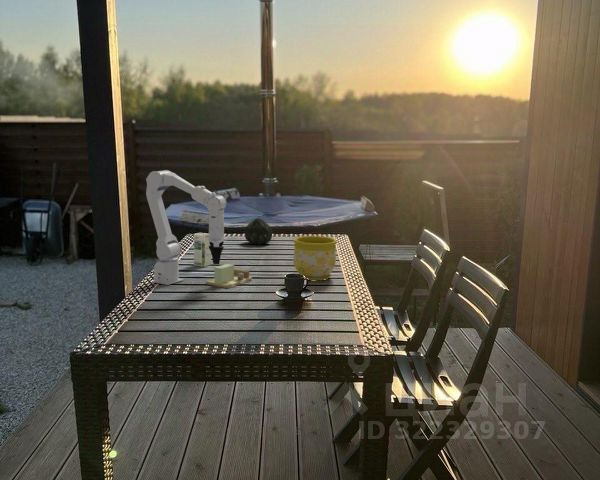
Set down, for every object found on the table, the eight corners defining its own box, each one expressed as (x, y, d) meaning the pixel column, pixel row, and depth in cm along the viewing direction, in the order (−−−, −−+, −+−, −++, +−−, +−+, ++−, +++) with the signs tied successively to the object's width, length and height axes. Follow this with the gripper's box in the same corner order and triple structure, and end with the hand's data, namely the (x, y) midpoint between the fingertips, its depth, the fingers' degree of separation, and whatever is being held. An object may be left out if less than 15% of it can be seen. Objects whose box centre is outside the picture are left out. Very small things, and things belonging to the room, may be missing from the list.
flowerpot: (327, 285, 236) (329, 245, 234) (286, 280, 242) (287, 241, 240) (340, 275, 253) (342, 238, 250) (301, 271, 259) (302, 234, 256)
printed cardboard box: (193, 265, 264) (193, 233, 261) (201, 263, 269) (201, 232, 266) (203, 267, 261) (203, 235, 259) (211, 264, 266) (211, 233, 264)
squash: (264, 230, 331) (250, 211, 322) (281, 235, 321) (268, 216, 311) (248, 248, 326) (234, 230, 317) (265, 254, 315) (251, 235, 306)
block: (221, 283, 229) (221, 268, 228) (214, 282, 231) (214, 267, 230) (233, 279, 236) (234, 265, 235) (226, 278, 238) (227, 263, 237)
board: (228, 288, 227) (228, 279, 227) (205, 284, 233) (205, 275, 232) (251, 280, 241) (252, 271, 240) (230, 276, 246) (230, 267, 246)
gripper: (227, 230, 219) (226, 265, 221) (226, 224, 233) (226, 257, 236) (208, 230, 218) (208, 265, 220) (208, 224, 232) (208, 257, 235)
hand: (216, 261), depth 228 cm, fingers open, 7 cm apart
